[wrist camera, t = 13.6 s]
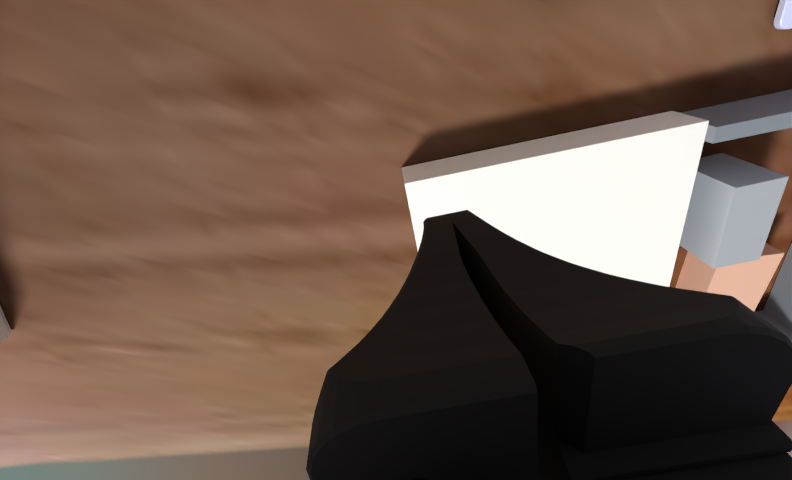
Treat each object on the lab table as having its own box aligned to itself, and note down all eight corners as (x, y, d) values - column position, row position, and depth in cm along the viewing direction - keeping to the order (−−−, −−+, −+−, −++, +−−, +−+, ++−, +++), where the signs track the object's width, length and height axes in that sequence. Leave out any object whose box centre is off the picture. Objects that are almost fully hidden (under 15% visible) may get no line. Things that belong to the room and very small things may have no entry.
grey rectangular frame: (879, 70, 19) (958, 77, 16) (770, 315, 28) (810, 344, 25) (671, 114, 20) (716, 127, 17) (629, 340, 28) (654, 371, 26)
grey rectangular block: (676, 162, 21) (720, 152, 21) (663, 234, 24) (703, 225, 24) (735, 188, 18) (789, 176, 18) (713, 268, 20) (759, 259, 20)
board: (672, 110, 20) (709, 120, 17) (628, 342, 29) (649, 368, 26) (401, 167, 20) (404, 183, 18) (442, 375, 29) (448, 402, 27)
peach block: (719, 261, 22) (688, 240, 24) (694, 321, 25) (668, 297, 27) (784, 253, 22) (747, 233, 24) (752, 313, 25) (722, 290, 27)
